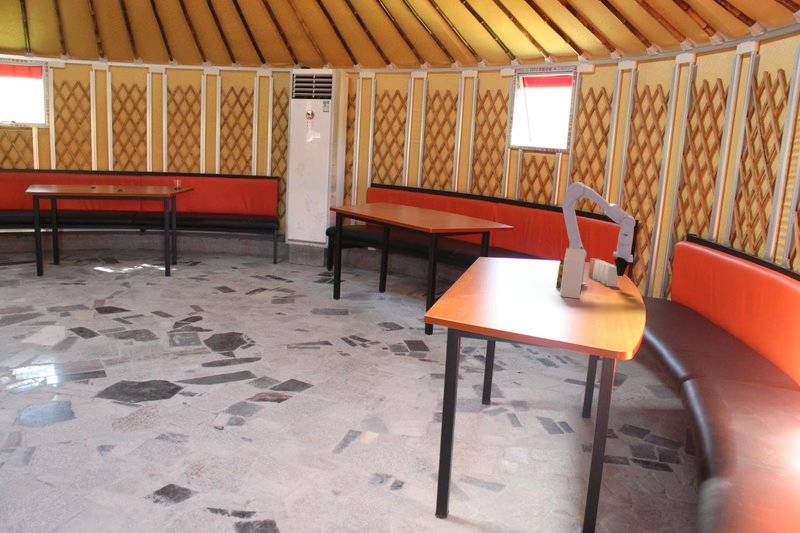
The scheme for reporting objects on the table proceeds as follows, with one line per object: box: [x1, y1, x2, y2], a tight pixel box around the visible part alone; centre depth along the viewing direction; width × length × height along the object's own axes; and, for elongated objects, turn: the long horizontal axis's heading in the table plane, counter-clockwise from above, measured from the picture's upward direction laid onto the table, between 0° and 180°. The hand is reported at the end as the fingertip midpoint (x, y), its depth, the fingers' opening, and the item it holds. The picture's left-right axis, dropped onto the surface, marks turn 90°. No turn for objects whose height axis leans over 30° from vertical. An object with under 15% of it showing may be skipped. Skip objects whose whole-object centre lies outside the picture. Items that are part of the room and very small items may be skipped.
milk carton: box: [559, 247, 586, 299], centre depth 253 cm, size 7×7×19 cm
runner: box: [586, 275, 620, 288], centre depth 289 cm, size 23×6×1 cm, turn 7°
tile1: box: [605, 266, 619, 287], centre depth 279 cm, size 1×4×8 cm, turn 97°
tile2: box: [601, 264, 616, 285], centre depth 284 cm, size 1×4×8 cm, turn 97°
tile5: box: [587, 258, 602, 277], centre depth 298 cm, size 1×4×8 cm, turn 97°
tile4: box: [593, 260, 606, 279], centre depth 293 cm, size 1×4×8 cm, turn 97°
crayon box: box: [555, 259, 564, 289], centre depth 268 cm, size 7×3×12 cm, turn 73°
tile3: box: [597, 262, 611, 281], centre depth 288 cm, size 1×4×8 cm, turn 97°
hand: (620, 275), depth 272 cm, fingers closed
